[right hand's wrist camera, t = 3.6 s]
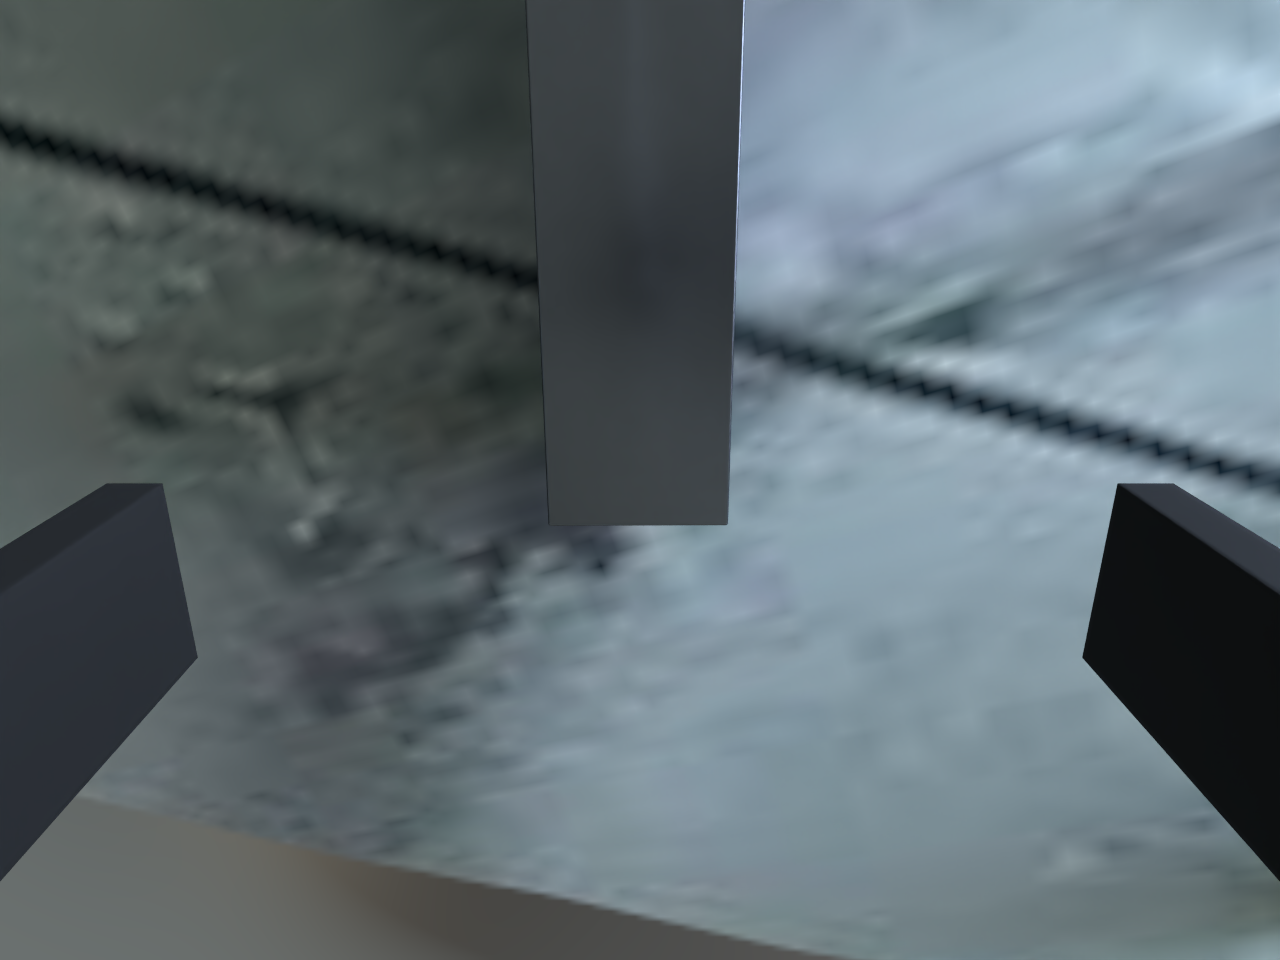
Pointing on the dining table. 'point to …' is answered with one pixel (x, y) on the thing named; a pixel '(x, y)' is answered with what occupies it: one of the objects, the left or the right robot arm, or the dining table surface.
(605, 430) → the bar
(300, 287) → the dining table surface
